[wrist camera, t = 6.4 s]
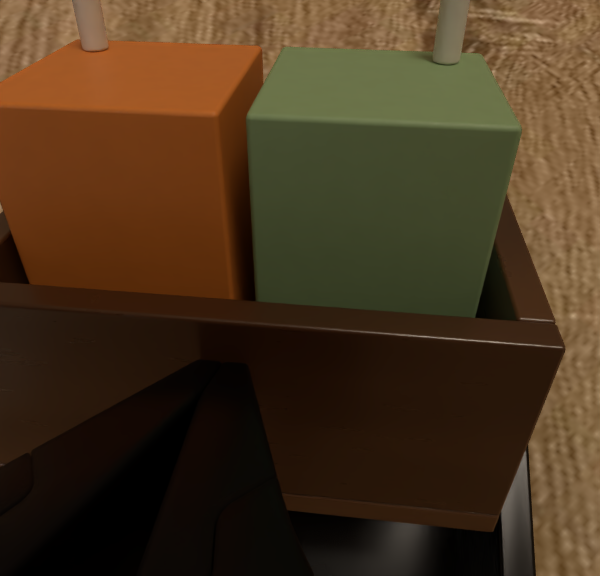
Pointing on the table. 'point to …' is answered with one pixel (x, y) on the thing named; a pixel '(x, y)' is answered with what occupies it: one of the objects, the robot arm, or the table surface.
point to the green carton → (379, 175)
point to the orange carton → (131, 164)
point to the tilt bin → (308, 382)
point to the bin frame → (422, 542)
